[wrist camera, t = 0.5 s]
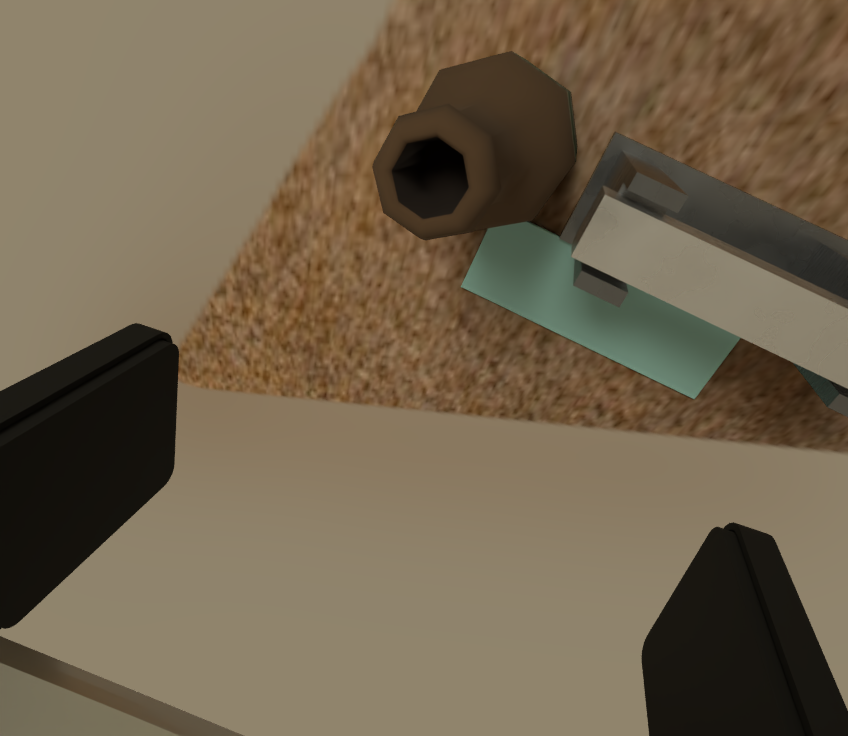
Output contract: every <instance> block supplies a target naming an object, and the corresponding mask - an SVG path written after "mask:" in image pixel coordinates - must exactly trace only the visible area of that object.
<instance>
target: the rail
mask: <svg viewBox="0 0 848 736" xmlns="http://www.w3.org/2000/svg"><path fill="white" fill-rule="evenodd" d="M571 257H573V258H575V259H577V260H579V261H581V262H583V263H585V264H587V265H589V266H591V267H594V268H596V269H598V270H600V271H602V272H604V273H606V274H608V275H610V276H612V277H614V278H617V279H619V280H621V281H623V282H625V283H627V284H629V285H631V286H633V287H635V288H638V289H640V290H642V291H644V292H646V293H648V294H650V295H652V296H654V297H656V298H659V299H661V300H663V301H665V302H667V303H669V304H671V305H673V306H675V307H677V308H680V309H682V310H684V311H686V312H688V313H690V314H692V315H694V316H696V317H698V318H701V319H703V320H705V321H707V322H709V323H711V324H713V325H715V326H717V327H719V328H722V329H724V330H726V331H728V332H730V333H732V334H734V335H736V336H738V337H740V338H742V339H745V340H747V341H749V342H751V343H753V344H755V345H757V346H759V347H761V348H763V349H766V350H768V351H770V352H772V353H774V354H776V355H778V356H780V357H782V358H784V359H787V360H789V361H791V362H793V363H795V364H797V365H799V366H801V367H803V368H805V369H808V370H810V371H812V372H814V373H816V374H818V375H820V376H822V377H824V378H826V379H829V380H831V381H833V382H835V383H837V384H839V385H841V386H843V387H845V388H847V389H848V300H846V299H844V298H842V297H840V296H838V295H835V294H833V293H831V292H829V291H827V290H825V289H823V288H821V287H818V286H816V285H814V284H812V283H810V282H808V281H806V280H804V279H801V278H799V277H797V276H795V275H793V274H791V273H789V272H787V271H784V270H782V269H780V268H778V267H776V266H774V265H772V264H770V263H767V262H765V261H763V260H761V259H759V258H757V257H755V256H753V255H750V254H748V253H746V252H744V251H742V250H740V249H738V248H736V247H733V246H731V245H729V244H727V243H725V242H723V241H721V240H719V239H716V238H714V237H712V236H710V235H708V234H706V233H704V232H702V231H699V230H697V229H695V228H693V227H691V226H689V225H687V224H685V223H682V222H680V221H678V220H676V219H674V218H672V217H670V216H667V215H665V214H663V213H661V212H659V211H657V210H655V209H653V208H650V207H648V206H646V205H644V204H642V203H640V202H638V201H636V200H633V199H631V198H629V197H627V196H625V195H623V194H621V193H619V192H616V191H614V190H612V189H610V188H608V187H606V186H604V185H603V186H602V188H601V190H600V191H599V193H598V195H597V197H596V199H595V201H594V203H593V204H592V206H591V208H590V210H589V212H588V214H587V215H586V217H585V219H584V221H583V223H582V225H581V226H580V228H579V230H578V232H577V234H576V236H575V237H574V239H573V241H572V248H571Z"/></svg>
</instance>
